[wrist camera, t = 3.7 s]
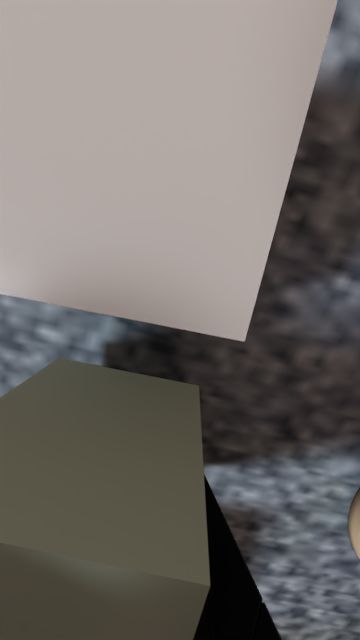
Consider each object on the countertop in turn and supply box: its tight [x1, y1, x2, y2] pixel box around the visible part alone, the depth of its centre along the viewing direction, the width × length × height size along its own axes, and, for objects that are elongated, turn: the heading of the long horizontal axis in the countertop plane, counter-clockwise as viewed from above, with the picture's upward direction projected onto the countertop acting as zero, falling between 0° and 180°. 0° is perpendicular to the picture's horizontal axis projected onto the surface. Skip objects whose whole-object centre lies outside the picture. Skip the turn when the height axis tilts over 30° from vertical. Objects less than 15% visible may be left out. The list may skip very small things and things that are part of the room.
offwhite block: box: [0, 0, 338, 342], centre depth 5 cm, size 5×5×5 cm
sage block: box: [0, 358, 210, 640], centre depth 6 cm, size 5×5×5 cm
